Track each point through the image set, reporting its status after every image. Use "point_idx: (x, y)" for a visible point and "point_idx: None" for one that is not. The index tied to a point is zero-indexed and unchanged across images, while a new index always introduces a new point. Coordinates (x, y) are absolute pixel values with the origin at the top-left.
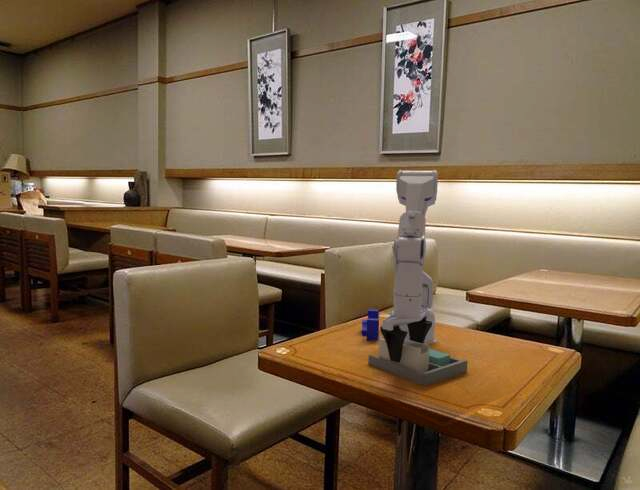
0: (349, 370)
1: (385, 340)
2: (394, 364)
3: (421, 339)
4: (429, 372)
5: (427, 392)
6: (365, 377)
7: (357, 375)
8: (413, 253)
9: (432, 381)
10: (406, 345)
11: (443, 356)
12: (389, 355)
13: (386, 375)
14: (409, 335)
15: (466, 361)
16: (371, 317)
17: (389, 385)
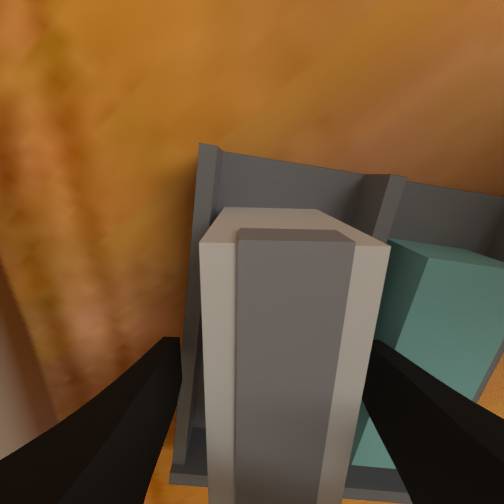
0: (89, 115)
1: (42, 438)
2: (184, 338)
3: (409, 487)
4: (197, 483)
5: (168, 439)
6: (92, 232)
7: (77, 191)
8: None
9: None
10: (219, 473)
11: (394, 465)
12: (148, 352)
13: (183, 279)
14: (441, 411)
15: None
16: None
17: (112, 341)
